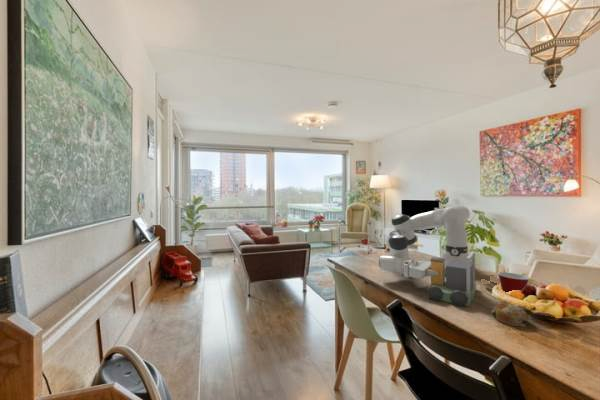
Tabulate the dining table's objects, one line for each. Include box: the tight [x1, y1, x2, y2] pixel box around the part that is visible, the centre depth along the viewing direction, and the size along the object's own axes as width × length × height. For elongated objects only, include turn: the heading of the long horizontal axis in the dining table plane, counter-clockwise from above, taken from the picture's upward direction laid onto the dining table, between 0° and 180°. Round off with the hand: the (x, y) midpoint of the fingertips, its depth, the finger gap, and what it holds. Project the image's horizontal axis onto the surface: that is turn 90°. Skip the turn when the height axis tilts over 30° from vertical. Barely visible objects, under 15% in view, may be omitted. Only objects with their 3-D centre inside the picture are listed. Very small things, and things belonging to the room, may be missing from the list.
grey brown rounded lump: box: [491, 302, 530, 328], centre depth 97 cm, size 10×10×8 cm
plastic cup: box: [497, 271, 531, 292], centre depth 113 cm, size 11×11×12 cm
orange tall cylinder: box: [430, 256, 446, 286], centre depth 128 cm, size 5×5×14 cm
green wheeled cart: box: [426, 250, 477, 307], centre depth 124 cm, size 28×16×19 cm, turn 141°
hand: (440, 271), depth 127 cm, fingers closed on orange tall cylinder, 5 cm apart
